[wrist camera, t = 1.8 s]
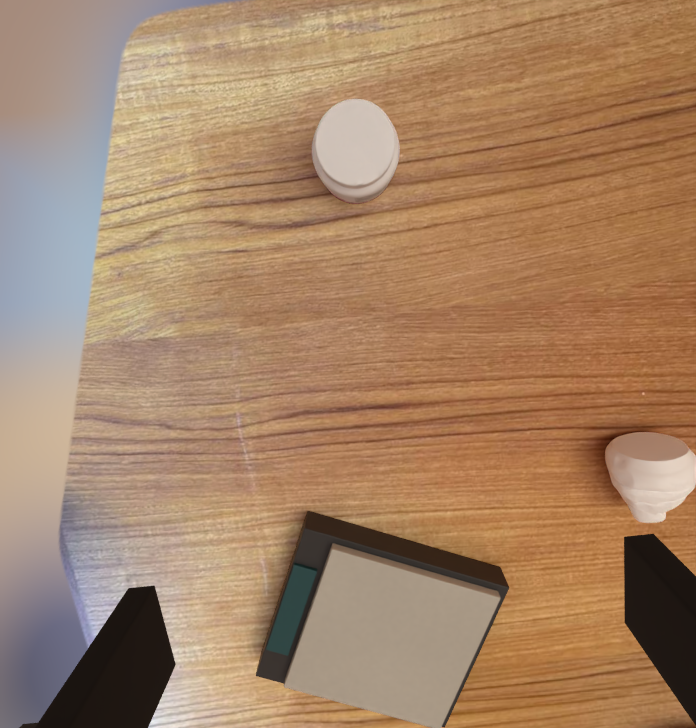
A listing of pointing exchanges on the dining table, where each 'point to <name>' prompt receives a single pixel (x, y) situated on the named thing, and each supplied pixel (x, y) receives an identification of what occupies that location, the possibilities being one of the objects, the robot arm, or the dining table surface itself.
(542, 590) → the dining table surface
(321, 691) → the scale
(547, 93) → the dining table surface
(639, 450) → the garlic bulb
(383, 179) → the pill bottle
